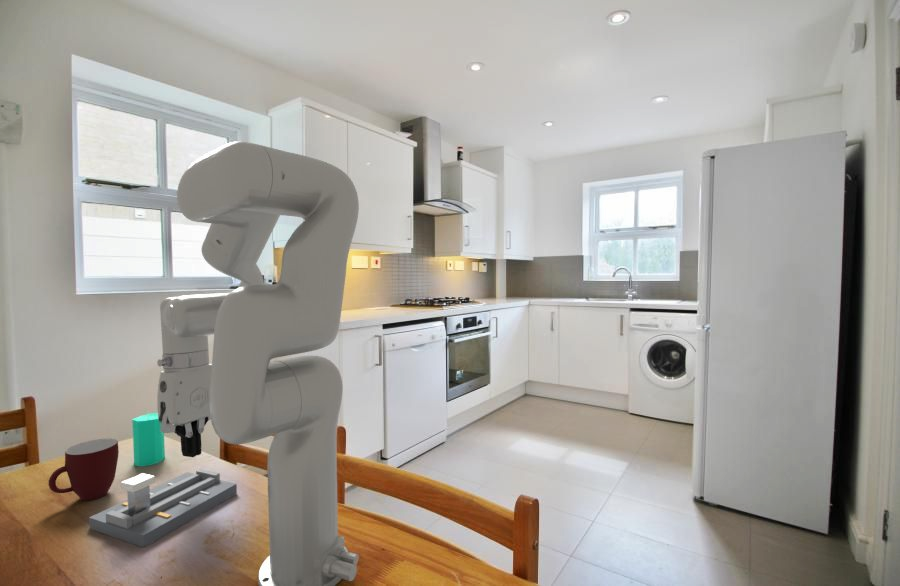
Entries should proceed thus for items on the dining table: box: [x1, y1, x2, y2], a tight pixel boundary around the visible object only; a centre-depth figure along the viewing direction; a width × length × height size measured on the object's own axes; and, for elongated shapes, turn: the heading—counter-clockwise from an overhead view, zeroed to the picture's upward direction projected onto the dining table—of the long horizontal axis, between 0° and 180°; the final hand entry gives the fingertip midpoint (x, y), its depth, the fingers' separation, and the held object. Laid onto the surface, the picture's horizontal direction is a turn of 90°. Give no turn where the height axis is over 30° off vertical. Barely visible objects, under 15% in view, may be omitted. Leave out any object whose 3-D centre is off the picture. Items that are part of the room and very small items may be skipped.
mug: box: [48, 438, 119, 502], centre depth 84 cm, size 11×8×10 cm
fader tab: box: [120, 472, 156, 516], centre depth 75 cm, size 3×4×6 cm
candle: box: [131, 409, 166, 467], centre depth 101 cm, size 6×6×12 cm
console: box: [88, 468, 238, 548], centre depth 80 cm, size 14×18×4 cm
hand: (191, 454), depth 83 cm, fingers closed
